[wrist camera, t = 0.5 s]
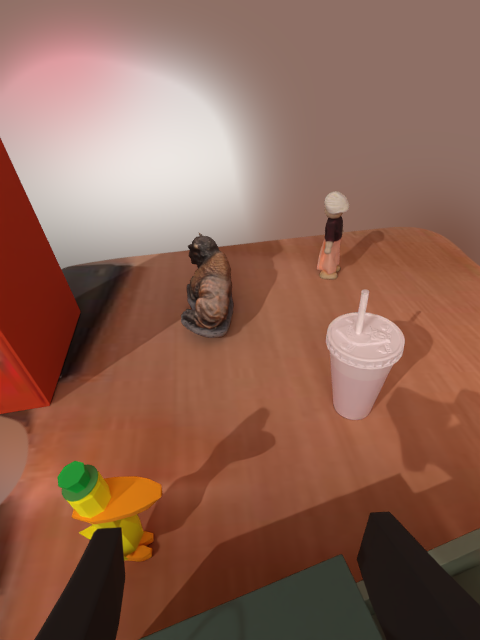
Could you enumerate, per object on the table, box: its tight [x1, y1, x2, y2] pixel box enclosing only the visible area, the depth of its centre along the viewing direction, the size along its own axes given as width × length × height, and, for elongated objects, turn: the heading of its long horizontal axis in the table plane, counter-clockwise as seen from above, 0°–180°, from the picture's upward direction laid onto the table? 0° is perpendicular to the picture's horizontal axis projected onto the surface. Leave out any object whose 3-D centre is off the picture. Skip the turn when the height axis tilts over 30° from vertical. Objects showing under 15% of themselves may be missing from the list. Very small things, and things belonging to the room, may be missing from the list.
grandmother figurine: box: [317, 192, 349, 279], centre depth 51 cm, size 8×4×13 cm, turn 165°
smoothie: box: [326, 290, 405, 420], centre depth 31 cm, size 6×6×14 cm
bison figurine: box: [181, 233, 233, 338], centre depth 46 cm, size 12×7×10 cm, turn 4°
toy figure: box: [58, 461, 162, 562], centre depth 23 cm, size 7×4×12 cm, turn 96°
